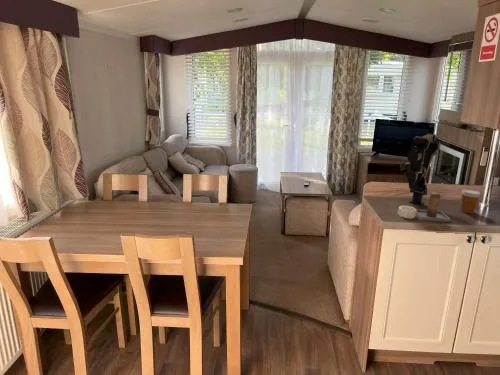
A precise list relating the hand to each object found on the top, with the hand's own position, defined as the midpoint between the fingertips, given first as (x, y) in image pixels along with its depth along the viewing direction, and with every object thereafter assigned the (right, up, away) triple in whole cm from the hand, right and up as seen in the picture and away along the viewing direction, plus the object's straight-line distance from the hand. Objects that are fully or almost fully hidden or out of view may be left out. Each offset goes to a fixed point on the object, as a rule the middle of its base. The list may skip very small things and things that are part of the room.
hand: (412, 186), depth 211 cm
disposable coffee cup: (+32, -14, +2) cm, 35 cm away
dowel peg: (+6, -16, -8) cm, 19 cm away
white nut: (-7, -16, -8) cm, 19 cm away
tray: (+6, -16, -8) cm, 20 cm away
